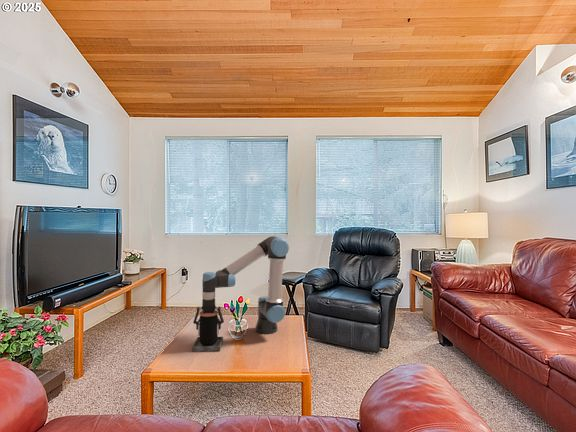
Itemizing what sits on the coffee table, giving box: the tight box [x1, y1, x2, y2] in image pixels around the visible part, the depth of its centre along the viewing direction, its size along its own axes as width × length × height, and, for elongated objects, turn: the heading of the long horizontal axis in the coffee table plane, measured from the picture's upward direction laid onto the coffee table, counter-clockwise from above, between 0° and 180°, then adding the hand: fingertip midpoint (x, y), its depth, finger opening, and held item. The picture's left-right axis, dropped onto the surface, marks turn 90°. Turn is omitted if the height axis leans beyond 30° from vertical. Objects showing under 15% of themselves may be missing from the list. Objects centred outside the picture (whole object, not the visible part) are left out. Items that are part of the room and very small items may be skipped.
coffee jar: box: [198, 309, 219, 345], centre depth 202 cm, size 11×11×18 cm
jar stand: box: [191, 336, 224, 353], centre depth 202 cm, size 16×16×3 cm
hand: (208, 334), depth 202 cm, fingers closed on coffee jar, 10 cm apart
